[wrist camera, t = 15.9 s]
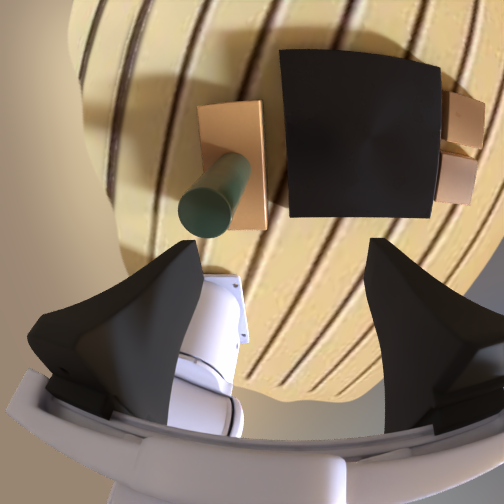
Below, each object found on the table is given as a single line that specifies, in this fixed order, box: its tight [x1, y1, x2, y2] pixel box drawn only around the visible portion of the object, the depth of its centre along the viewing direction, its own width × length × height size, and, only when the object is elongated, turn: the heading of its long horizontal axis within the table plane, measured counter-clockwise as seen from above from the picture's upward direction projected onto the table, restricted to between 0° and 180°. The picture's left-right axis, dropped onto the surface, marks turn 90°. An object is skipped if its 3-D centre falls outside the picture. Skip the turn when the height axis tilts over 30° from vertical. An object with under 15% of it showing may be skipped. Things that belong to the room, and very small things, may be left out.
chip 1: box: [441, 91, 485, 149], centre depth 14 cm, size 4×4×1 cm
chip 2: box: [433, 151, 478, 205], centre depth 17 cm, size 4×4×1 cm
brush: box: [178, 100, 269, 238], centre depth 15 cm, size 9×4×10 cm, turn 4°
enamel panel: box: [279, 49, 442, 218], centre depth 16 cm, size 12×12×2 cm
